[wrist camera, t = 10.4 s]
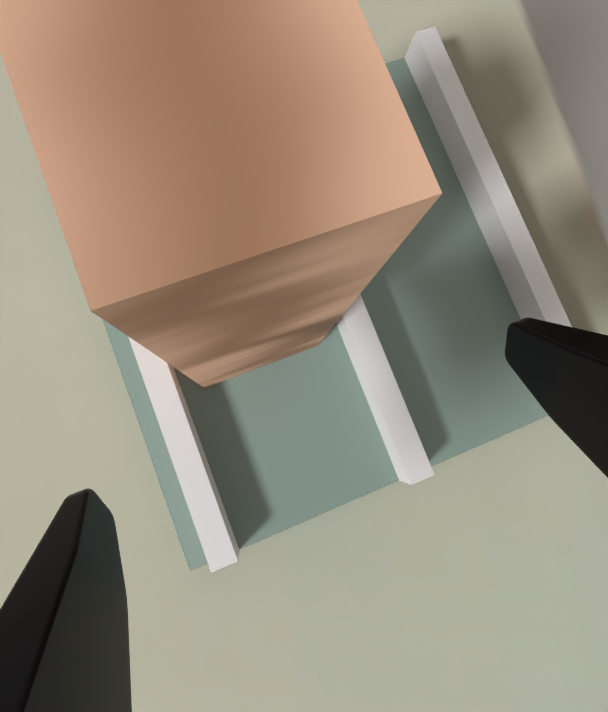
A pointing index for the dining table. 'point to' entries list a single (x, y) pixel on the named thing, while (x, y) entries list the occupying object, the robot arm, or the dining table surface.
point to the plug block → (218, 166)
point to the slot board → (363, 357)
